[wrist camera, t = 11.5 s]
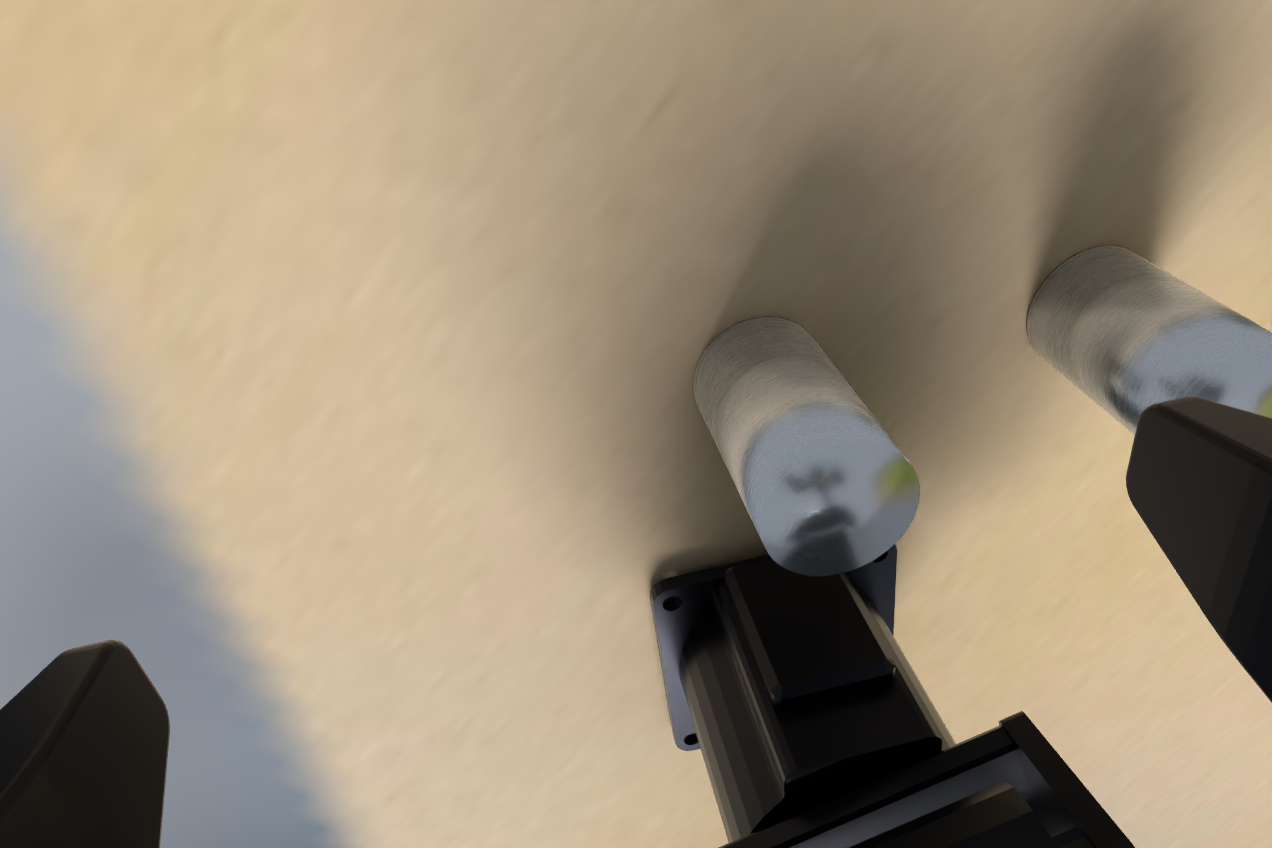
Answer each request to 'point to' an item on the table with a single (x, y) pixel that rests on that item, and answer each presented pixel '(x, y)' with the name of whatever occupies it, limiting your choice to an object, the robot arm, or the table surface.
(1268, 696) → the robot arm
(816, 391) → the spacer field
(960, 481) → the table surface
